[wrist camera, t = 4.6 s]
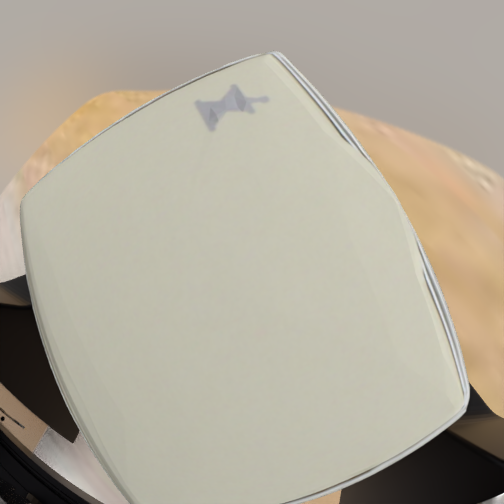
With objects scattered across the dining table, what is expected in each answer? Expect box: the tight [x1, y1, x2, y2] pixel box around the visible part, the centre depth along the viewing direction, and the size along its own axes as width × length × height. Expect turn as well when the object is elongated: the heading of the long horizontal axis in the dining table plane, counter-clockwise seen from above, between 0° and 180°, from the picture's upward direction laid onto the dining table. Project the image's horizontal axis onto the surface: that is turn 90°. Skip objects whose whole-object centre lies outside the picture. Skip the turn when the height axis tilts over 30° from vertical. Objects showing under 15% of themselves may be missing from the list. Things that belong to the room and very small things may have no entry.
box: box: [20, 51, 470, 504], centre depth 9 cm, size 5×4×13 cm
